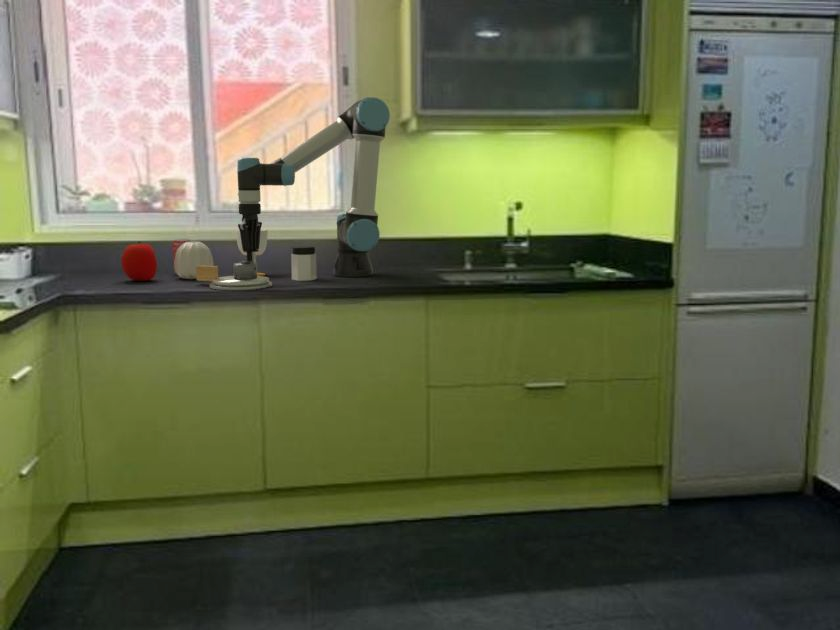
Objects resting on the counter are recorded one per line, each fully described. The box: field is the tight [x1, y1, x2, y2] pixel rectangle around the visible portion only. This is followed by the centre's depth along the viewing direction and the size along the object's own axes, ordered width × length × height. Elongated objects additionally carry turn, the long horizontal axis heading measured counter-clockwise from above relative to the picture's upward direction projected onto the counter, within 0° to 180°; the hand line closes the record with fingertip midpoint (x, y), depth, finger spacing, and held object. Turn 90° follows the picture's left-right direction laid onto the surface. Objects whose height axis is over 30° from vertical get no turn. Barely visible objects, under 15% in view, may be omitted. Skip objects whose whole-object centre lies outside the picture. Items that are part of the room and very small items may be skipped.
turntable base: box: [209, 280, 273, 292], centre depth 282 cm, size 21×21×1 cm
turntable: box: [196, 265, 270, 286], centre depth 283 cm, size 26×19×5 cm
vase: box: [173, 240, 215, 280], centre depth 302 cm, size 14×14×13 cm
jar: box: [290, 245, 317, 282], centre depth 299 cm, size 9×8×12 cm
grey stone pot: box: [233, 260, 258, 279], centre depth 285 cm, size 8×8×6 cm
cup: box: [235, 228, 268, 277], centre depth 311 cm, size 12×12×17 cm
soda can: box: [172, 238, 192, 275], centre depth 315 cm, size 7×7×13 cm
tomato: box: [120, 241, 158, 282], centre depth 294 cm, size 13×11×14 cm
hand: (251, 270), depth 289 cm, fingers closed
